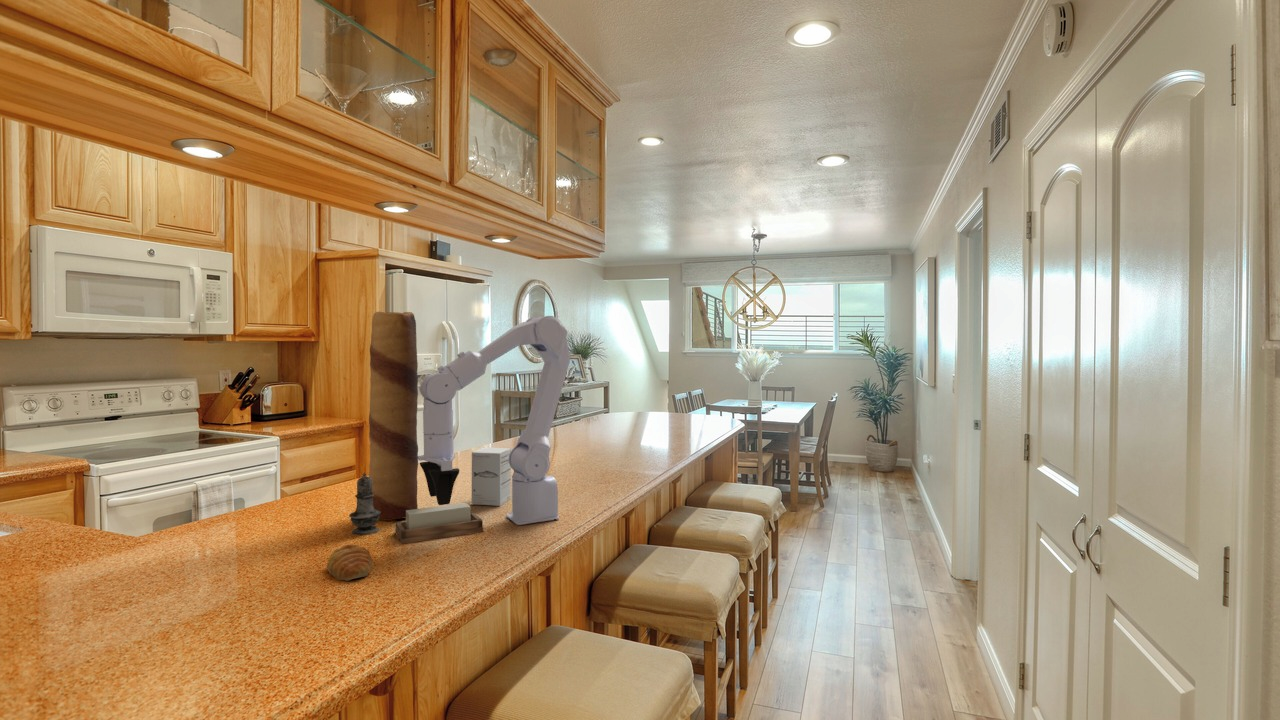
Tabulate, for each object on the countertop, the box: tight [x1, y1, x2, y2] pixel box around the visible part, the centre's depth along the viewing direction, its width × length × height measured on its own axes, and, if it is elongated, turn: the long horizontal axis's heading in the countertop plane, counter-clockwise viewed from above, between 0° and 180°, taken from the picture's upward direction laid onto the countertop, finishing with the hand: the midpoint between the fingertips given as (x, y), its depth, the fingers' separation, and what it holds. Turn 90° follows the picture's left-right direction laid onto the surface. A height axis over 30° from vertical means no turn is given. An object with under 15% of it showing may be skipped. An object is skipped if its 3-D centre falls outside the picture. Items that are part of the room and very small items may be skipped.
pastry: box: [326, 543, 374, 582], centre depth 105 cm, size 9×7×4 cm
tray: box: [394, 511, 484, 545], centre depth 127 cm, size 16×8×2 cm, turn 120°
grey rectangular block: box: [405, 502, 472, 530], centre depth 127 cm, size 12×4×4 cm, turn 120°
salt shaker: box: [348, 472, 381, 536], centre depth 127 cm, size 6×6×12 cm
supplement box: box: [471, 447, 512, 507], centre depth 150 cm, size 7×7×13 cm
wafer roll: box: [368, 311, 419, 521], centre depth 138 cm, size 10×11×45 cm
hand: (439, 499), depth 127 cm, fingers open, 7 cm apart
